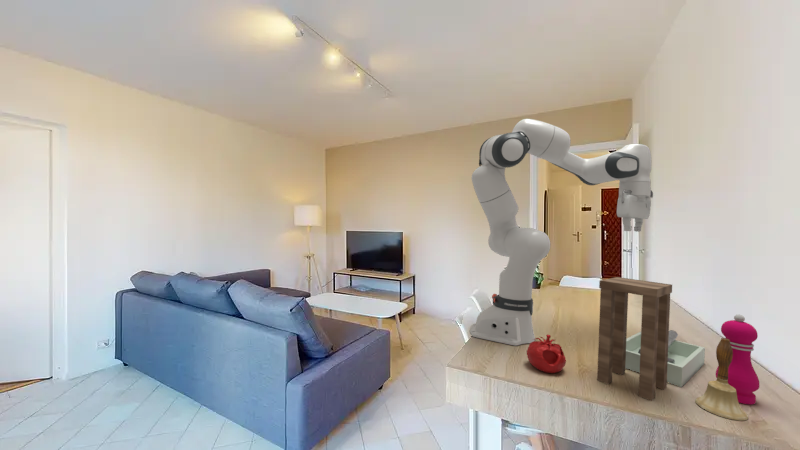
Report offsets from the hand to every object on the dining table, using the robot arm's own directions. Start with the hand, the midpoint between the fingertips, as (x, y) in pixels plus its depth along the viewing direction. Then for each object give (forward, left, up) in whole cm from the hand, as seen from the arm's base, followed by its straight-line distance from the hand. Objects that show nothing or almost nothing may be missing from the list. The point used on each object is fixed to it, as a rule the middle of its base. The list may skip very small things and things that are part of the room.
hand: (632, 231), depth 110 cm
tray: (+2, -16, -39) cm, 42 cm away
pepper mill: (+12, -32, -39) cm, 52 cm away
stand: (-10, -34, -39) cm, 53 cm away
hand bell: (+5, -40, -39) cm, 56 cm away
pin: (+5, -12, -36) cm, 38 cm away
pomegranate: (-30, -33, -39) cm, 59 cm away
